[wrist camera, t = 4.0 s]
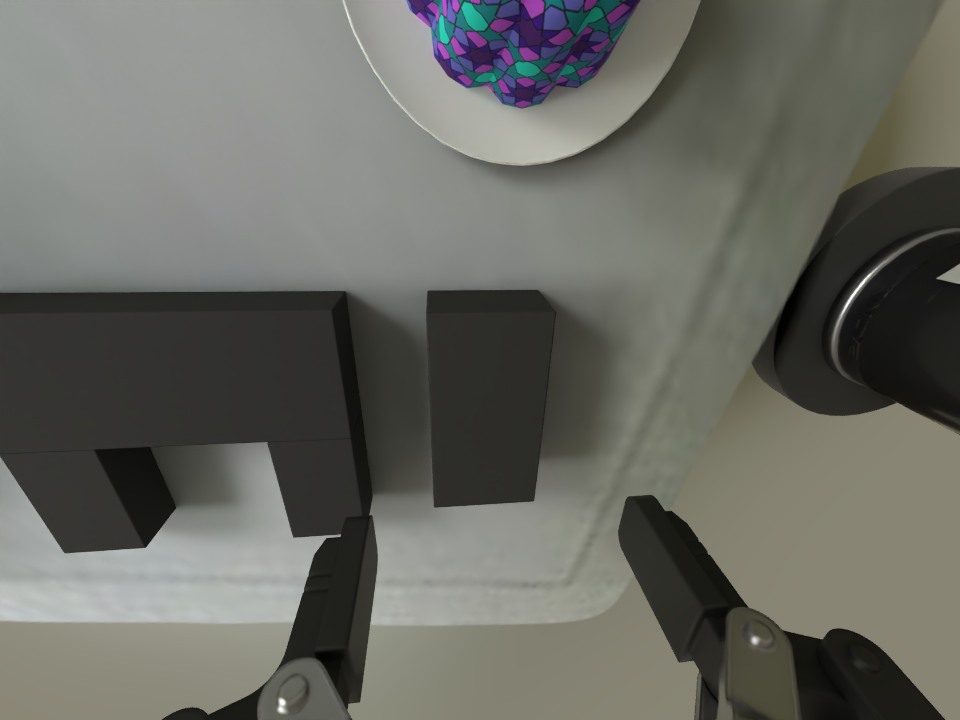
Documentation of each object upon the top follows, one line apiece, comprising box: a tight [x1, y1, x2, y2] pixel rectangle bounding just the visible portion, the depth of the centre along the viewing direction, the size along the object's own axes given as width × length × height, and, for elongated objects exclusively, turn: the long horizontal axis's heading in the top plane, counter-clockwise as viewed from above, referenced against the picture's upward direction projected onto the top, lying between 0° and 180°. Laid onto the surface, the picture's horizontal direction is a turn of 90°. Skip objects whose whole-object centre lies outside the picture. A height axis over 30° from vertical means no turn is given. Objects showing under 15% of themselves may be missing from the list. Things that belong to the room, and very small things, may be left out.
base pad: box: [0, 291, 373, 553], centre depth 18 cm, size 14×12×2 cm
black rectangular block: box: [426, 290, 556, 507], centre depth 18 cm, size 5×10×3 cm, turn 179°
